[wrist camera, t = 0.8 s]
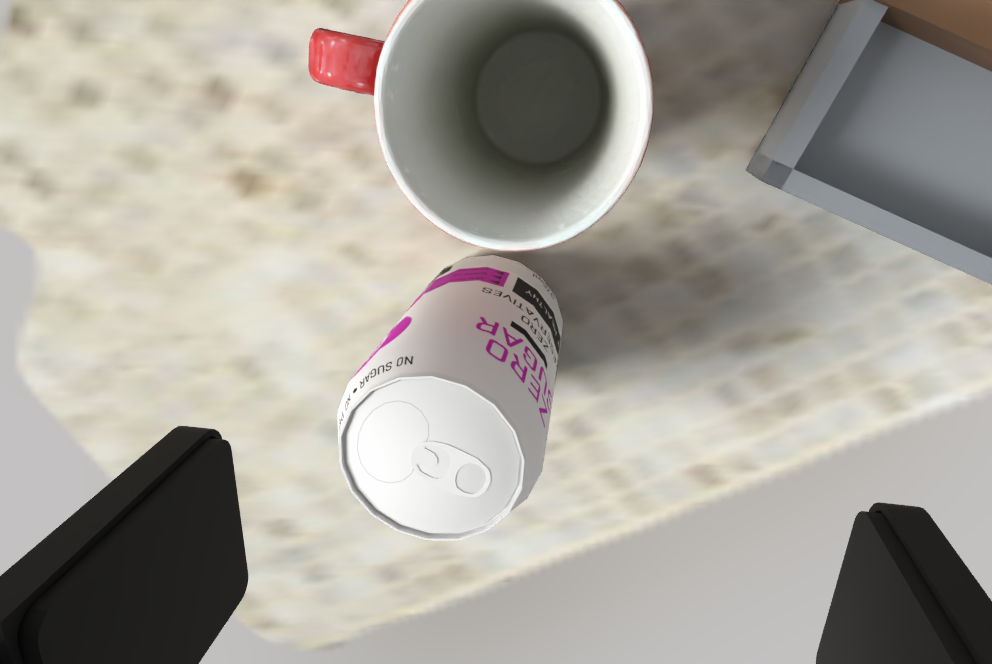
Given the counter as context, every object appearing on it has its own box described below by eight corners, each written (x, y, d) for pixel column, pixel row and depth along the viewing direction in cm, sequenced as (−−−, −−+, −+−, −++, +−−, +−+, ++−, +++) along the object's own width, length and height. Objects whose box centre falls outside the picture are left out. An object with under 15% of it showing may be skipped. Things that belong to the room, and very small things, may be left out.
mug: (662, 29, 32) (701, 1, 19) (598, 211, 35) (596, 286, 23) (410, -50, 32) (289, -127, 20) (371, 138, 36) (247, 173, 23)
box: (837, 5, 30) (865, -3, 27) (1136, 140, 31) (1200, 148, 27) (745, 170, 33) (760, 180, 30) (1017, 292, 34) (1061, 315, 30)
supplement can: (402, 351, 40) (296, 500, 26) (453, 227, 37) (364, 320, 23) (526, 408, 40) (486, 586, 26) (588, 289, 37) (580, 420, 23)
